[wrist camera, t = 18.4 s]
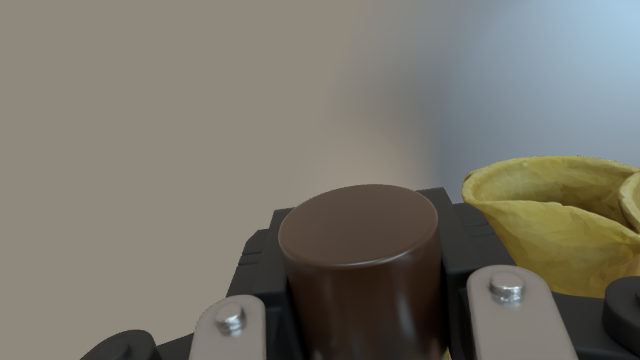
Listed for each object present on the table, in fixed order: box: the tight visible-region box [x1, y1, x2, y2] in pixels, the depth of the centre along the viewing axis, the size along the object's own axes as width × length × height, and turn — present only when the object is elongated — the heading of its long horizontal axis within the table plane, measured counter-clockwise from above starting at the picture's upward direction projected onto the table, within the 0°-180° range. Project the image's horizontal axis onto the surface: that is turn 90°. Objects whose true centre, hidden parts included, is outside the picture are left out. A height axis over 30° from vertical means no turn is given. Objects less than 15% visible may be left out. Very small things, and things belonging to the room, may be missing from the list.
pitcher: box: [462, 156, 640, 299], centre depth 36 cm, size 17×19×25 cm
